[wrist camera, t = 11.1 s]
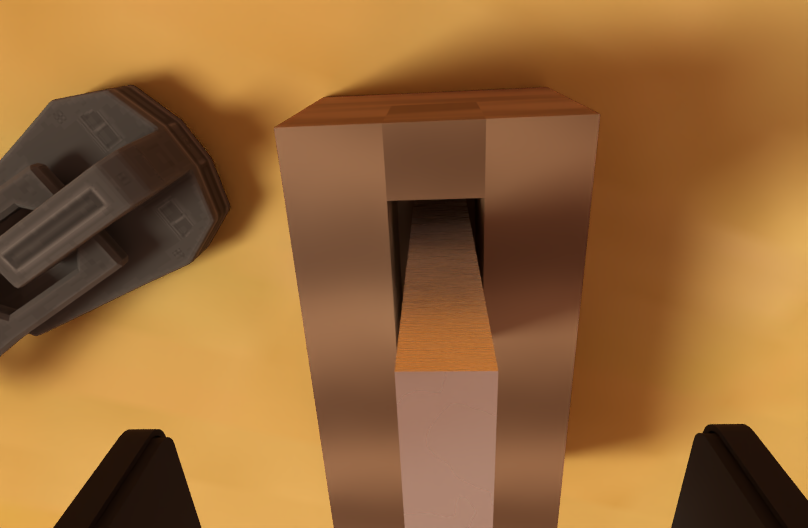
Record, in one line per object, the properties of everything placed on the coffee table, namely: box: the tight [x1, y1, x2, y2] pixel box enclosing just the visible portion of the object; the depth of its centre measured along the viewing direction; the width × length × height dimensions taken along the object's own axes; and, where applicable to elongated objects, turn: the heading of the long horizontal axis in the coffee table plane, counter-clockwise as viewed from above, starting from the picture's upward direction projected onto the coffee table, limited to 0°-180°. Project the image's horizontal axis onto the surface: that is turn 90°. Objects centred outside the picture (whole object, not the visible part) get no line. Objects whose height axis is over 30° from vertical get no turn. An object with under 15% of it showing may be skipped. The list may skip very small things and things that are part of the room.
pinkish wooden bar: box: [395, 198, 498, 528], centre depth 16 cm, size 4×2×12 cm, turn 3°
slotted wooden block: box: [274, 87, 600, 528], centre depth 24 cm, size 22×10×8 cm, turn 3°
